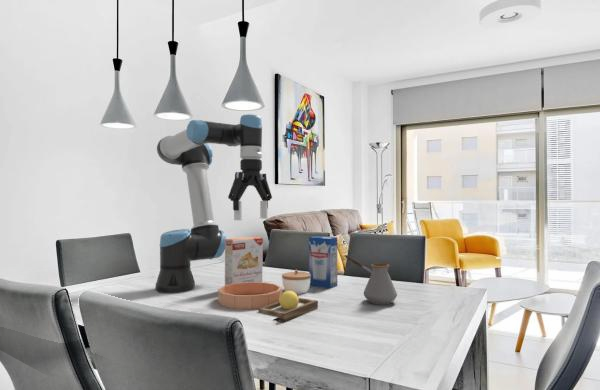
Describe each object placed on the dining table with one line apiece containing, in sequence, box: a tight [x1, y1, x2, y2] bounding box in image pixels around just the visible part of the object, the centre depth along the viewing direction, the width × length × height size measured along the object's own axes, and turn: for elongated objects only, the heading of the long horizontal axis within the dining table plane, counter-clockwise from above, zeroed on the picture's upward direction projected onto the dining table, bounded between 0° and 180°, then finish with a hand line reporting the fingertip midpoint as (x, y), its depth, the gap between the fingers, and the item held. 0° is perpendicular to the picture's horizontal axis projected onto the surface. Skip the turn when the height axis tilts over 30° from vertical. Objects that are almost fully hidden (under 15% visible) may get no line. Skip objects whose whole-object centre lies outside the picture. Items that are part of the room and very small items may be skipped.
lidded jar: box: [281, 269, 311, 295], centre depth 151 cm, size 11×11×9 cm
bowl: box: [217, 281, 283, 310], centre depth 138 cm, size 21×21×6 cm
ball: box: [280, 291, 300, 311], centre depth 128 cm, size 6×6×6 cm
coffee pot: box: [342, 254, 398, 306], centre depth 144 cm, size 21×12×15 cm, turn 47°
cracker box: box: [224, 236, 264, 286], centre depth 156 cm, size 14×6×21 cm, turn 131°
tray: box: [257, 297, 319, 323], centre depth 128 cm, size 10×18×2 cm, turn 145°
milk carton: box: [308, 235, 338, 290], centre depth 167 cm, size 10×6×20 cm, turn 58°
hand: (251, 219), depth 143 cm, fingers open, 13 cm apart
